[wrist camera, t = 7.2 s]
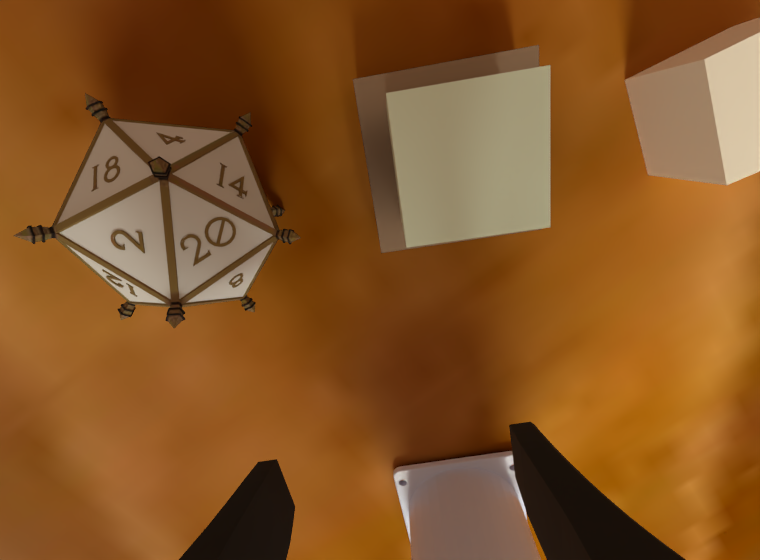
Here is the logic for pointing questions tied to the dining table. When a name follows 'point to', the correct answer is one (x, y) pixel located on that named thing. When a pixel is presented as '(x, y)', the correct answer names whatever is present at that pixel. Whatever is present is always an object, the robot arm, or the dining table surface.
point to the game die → (168, 214)
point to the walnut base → (378, 134)
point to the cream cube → (702, 109)
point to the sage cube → (472, 156)
